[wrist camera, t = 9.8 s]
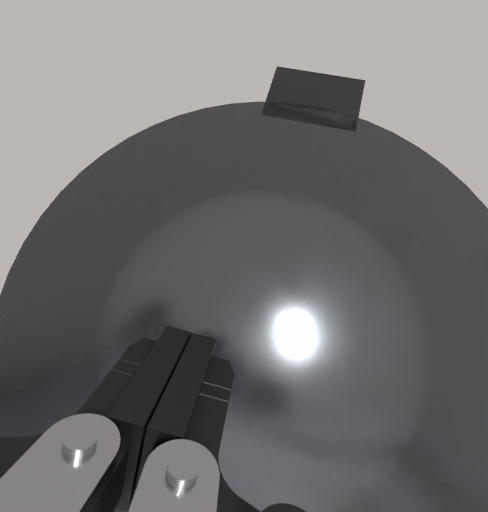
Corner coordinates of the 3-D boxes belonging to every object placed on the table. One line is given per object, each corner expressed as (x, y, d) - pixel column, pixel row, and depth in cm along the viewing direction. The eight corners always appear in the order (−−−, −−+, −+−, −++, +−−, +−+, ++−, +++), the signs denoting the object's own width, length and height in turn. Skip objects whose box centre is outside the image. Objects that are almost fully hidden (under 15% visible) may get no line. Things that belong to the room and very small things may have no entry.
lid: (544, 785, 7) (593, 854, 6) (-101, 521, 10) (-146, 538, 9) (514, 128, 15) (535, 107, 14) (144, 67, 17) (137, 44, 16)
